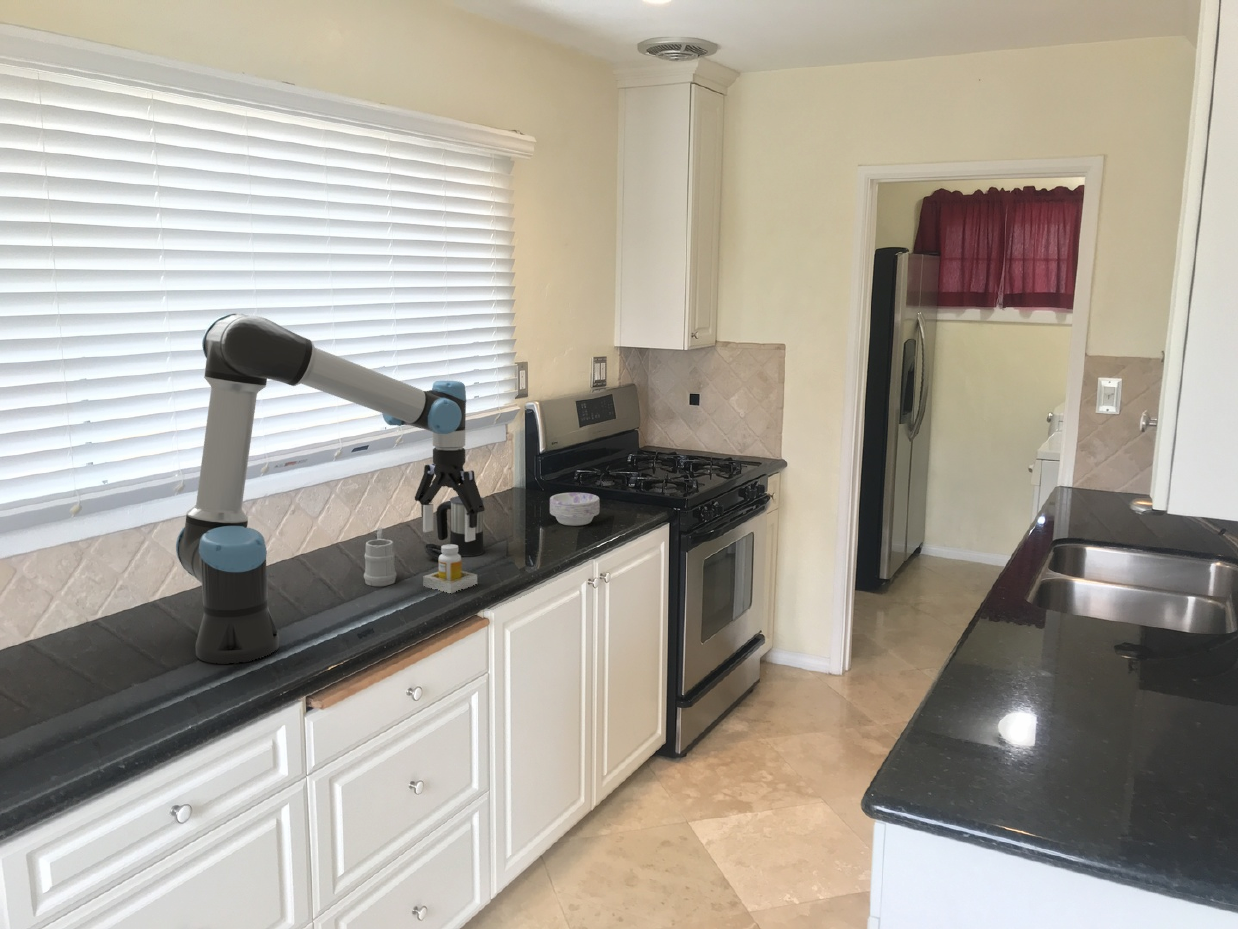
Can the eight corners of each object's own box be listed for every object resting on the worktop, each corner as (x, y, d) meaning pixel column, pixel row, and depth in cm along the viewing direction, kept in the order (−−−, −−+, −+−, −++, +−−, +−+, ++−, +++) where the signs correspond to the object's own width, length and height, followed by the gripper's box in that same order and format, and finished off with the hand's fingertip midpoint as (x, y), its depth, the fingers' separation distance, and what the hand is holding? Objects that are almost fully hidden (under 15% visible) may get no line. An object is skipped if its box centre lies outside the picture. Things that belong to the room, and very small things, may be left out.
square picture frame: (450, 593, 224) (450, 583, 223) (423, 586, 229) (423, 576, 228) (477, 584, 231) (477, 574, 231) (449, 577, 236) (449, 567, 236)
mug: (363, 587, 227) (362, 538, 225) (365, 573, 238) (363, 526, 236) (396, 586, 229) (395, 537, 226) (396, 571, 240) (395, 525, 238)
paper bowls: (542, 525, 289) (542, 500, 288) (559, 514, 304) (560, 490, 302) (590, 530, 285) (590, 504, 284) (605, 519, 299) (606, 494, 298)
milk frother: (488, 549, 263) (488, 496, 260) (473, 565, 247) (473, 509, 245) (438, 546, 264) (437, 493, 261) (419, 562, 249) (419, 506, 246)
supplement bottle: (462, 582, 233) (462, 543, 231) (460, 589, 227) (459, 549, 226) (440, 582, 233) (440, 543, 231) (437, 588, 227) (436, 549, 226)
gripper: (500, 451, 220) (499, 541, 224) (422, 439, 234) (422, 524, 237) (478, 455, 214) (477, 548, 218) (399, 443, 228) (400, 530, 231)
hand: (448, 536), depth 228 cm, fingers open, 13 cm apart
